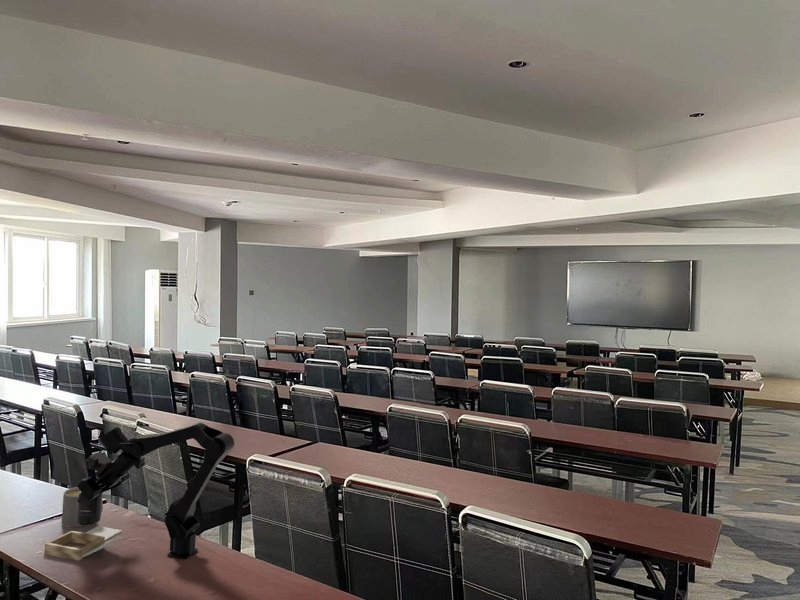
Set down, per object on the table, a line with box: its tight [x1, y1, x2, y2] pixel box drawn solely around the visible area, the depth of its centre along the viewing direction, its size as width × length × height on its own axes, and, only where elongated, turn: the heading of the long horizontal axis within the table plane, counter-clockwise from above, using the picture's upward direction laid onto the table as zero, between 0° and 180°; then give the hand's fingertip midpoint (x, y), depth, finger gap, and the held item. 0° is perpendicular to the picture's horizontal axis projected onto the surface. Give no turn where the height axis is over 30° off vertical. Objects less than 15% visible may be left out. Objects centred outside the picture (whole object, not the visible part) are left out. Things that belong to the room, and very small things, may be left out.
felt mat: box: [85, 525, 123, 542], centre depth 184 cm, size 9×9×1 cm
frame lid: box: [81, 535, 123, 559], centre depth 170 cm, size 7×8×4 cm
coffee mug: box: [61, 486, 104, 528], centre depth 192 cm, size 13×10×10 cm
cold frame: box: [43, 530, 106, 561], centre depth 172 cm, size 12×10×3 cm
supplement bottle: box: [76, 480, 104, 526], centre depth 179 cm, size 7×7×12 cm
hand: (86, 498), depth 179 cm, fingers closed on supplement bottle, 7 cm apart
